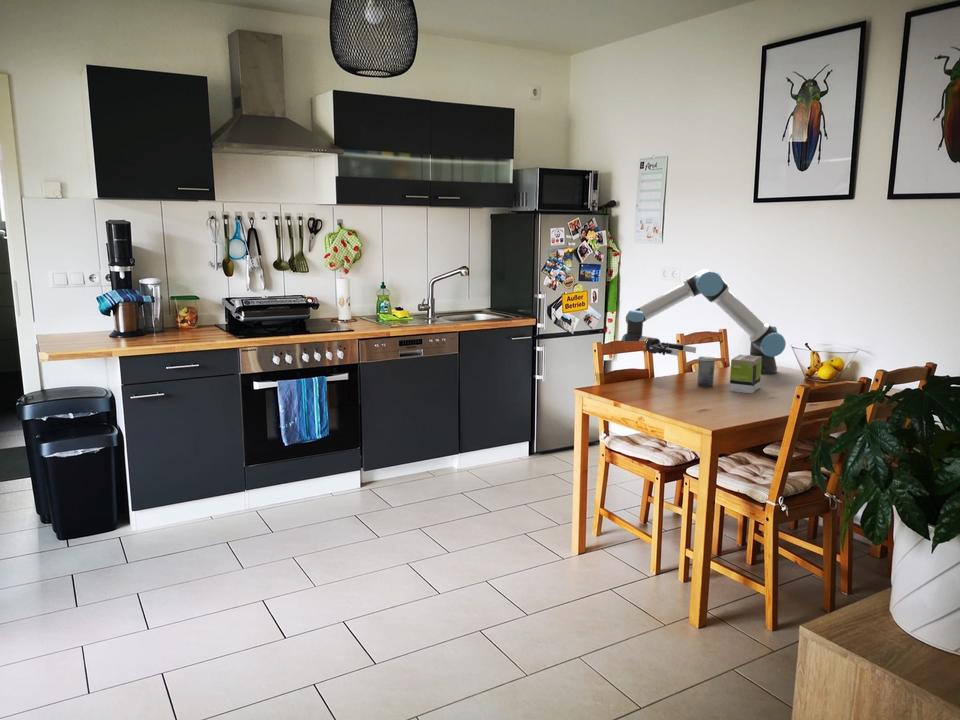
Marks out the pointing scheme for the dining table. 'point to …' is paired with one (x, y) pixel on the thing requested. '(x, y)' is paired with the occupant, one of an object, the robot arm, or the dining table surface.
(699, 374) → the tin canister
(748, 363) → the tea box
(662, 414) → the dining table surface
